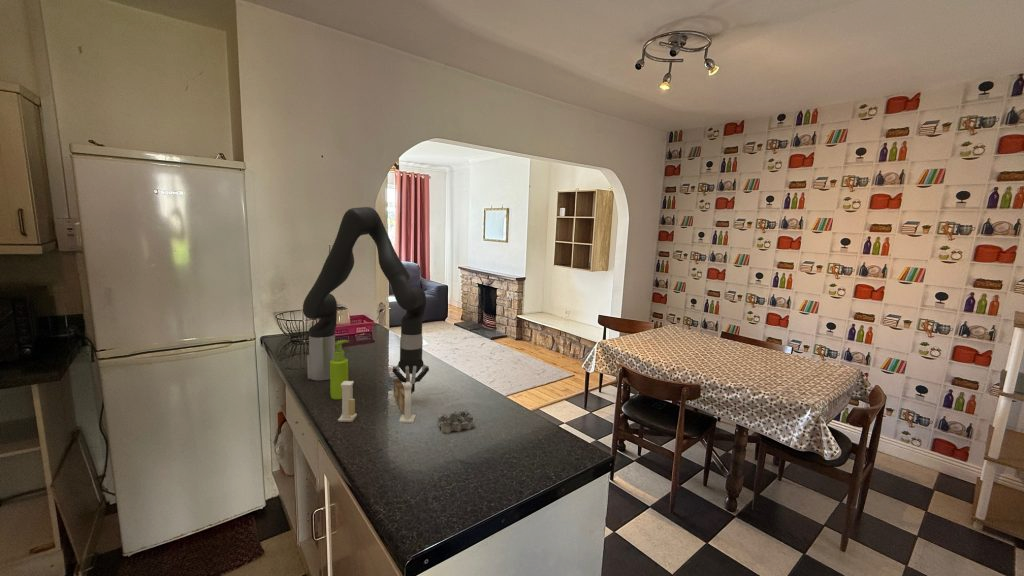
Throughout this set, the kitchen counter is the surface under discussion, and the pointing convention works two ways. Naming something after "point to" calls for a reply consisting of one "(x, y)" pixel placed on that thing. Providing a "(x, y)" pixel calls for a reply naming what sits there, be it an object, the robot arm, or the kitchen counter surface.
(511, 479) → the kitchen counter surface
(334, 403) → the kitchen counter surface
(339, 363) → the soap dispenser
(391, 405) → the kitchen counter surface
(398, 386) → the gate
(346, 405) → the post
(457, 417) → the egg carton
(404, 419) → the hinge post
